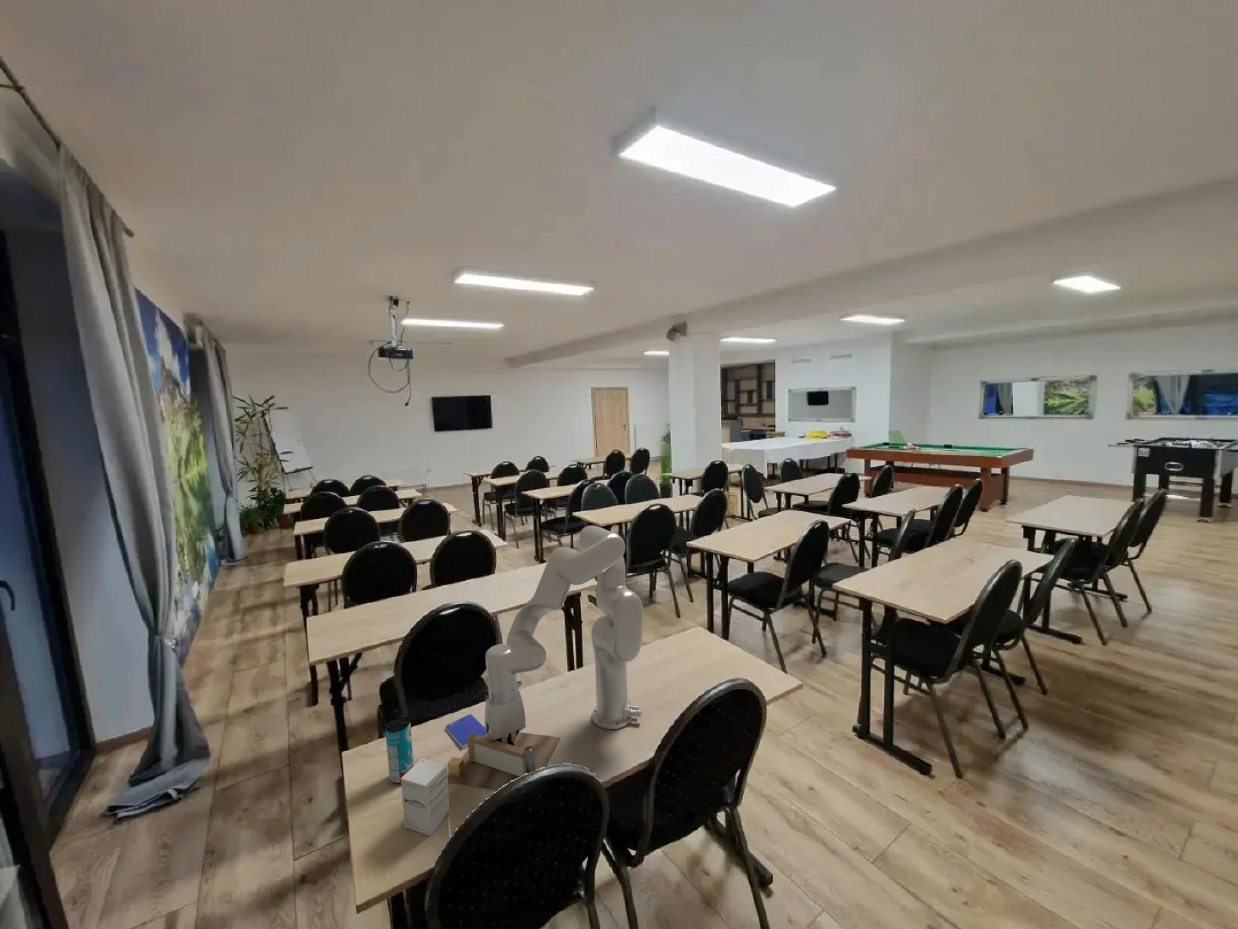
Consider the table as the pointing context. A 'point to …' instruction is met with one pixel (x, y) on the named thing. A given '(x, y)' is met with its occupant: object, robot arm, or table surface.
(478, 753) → the brown and grey board
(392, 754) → the beverage can
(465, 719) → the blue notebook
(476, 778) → the board
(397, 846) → the table surface
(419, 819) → the supplement box
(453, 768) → the gate posts
